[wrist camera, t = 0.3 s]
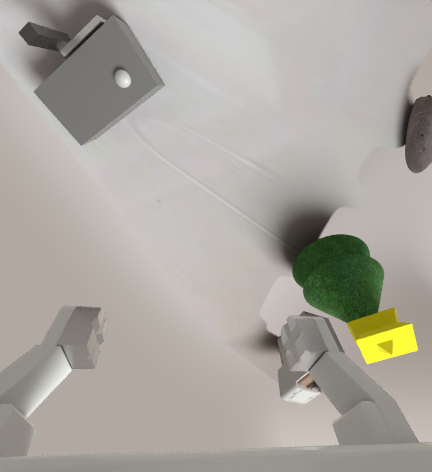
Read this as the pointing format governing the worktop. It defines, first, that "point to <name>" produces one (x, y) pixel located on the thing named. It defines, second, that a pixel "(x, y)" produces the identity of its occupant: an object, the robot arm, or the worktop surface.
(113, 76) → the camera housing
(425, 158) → the perforated stone tool
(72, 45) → the side door
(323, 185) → the worktop surface
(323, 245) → the decorative tree
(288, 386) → the portable television
